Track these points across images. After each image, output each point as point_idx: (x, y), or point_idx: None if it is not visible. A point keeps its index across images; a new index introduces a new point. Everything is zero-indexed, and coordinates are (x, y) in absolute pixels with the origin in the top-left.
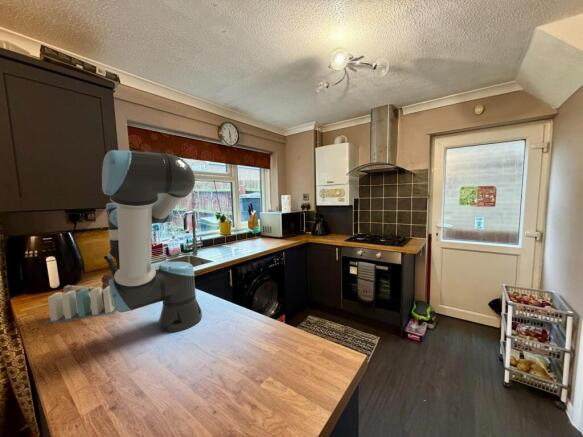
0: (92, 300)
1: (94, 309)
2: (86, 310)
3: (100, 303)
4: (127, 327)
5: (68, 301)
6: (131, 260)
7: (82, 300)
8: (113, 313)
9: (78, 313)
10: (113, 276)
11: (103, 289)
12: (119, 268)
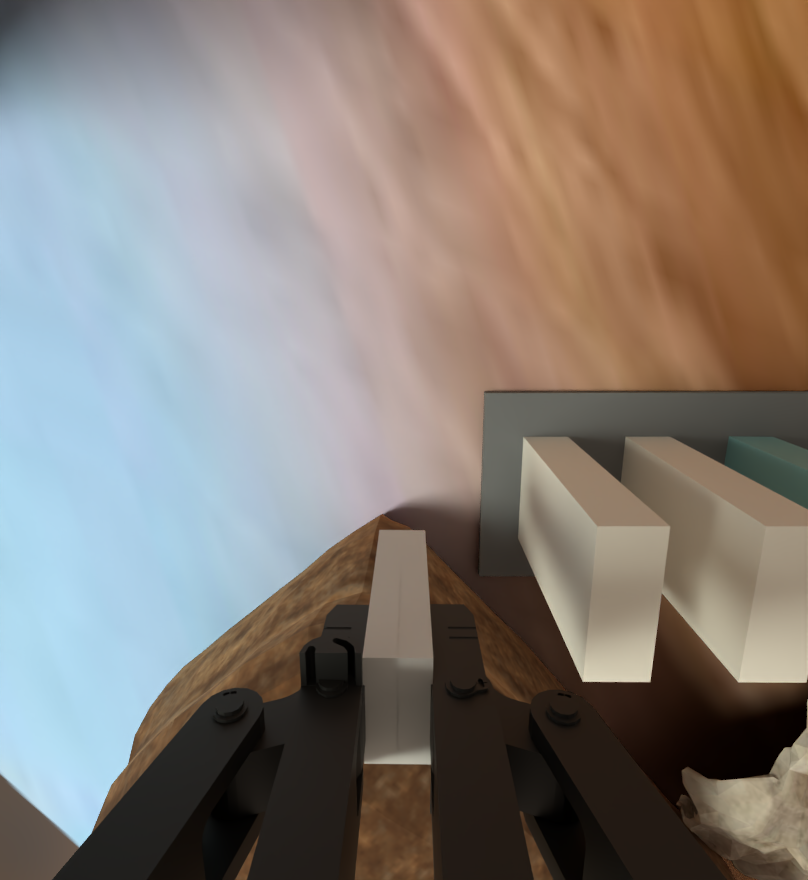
0: (736, 483)
1: (671, 449)
2: None
3: None
4: (259, 38)
5: None
6: None
7: None
8: (490, 397)
9: (796, 446)
10: (583, 700)
11: (720, 822)
12: (470, 870)
